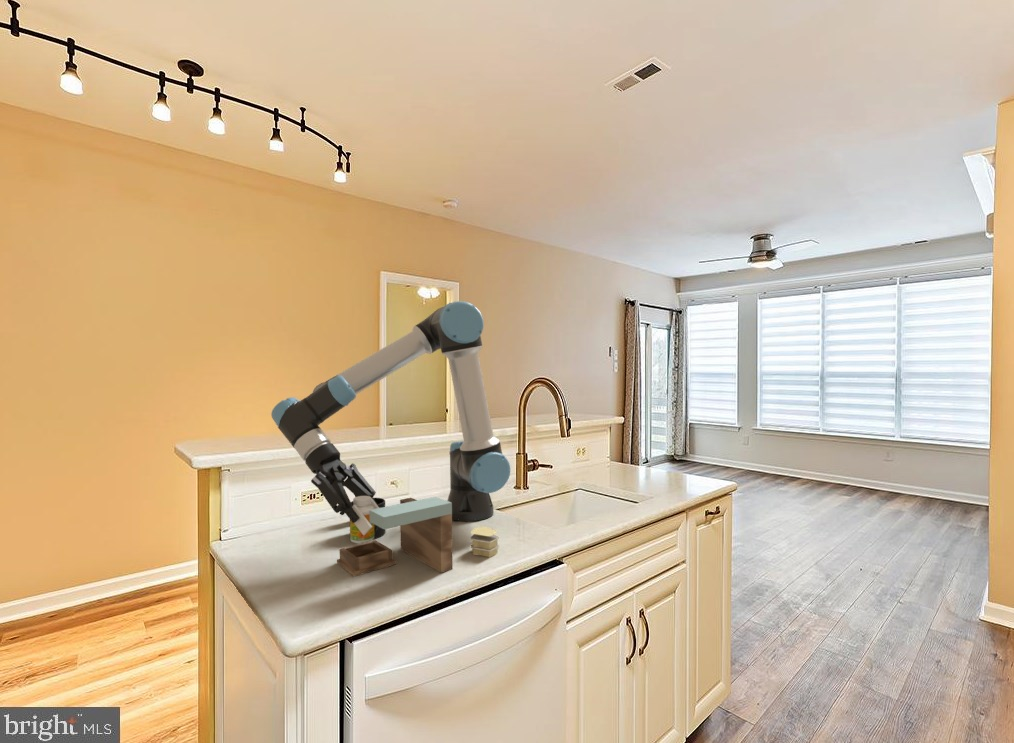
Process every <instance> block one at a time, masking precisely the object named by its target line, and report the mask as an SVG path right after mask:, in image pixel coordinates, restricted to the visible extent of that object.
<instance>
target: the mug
mask: <svg viewBox="0 0 1014 743" xmlns="http://www.w3.org/2000/svg"><path fill="white" fill-rule="evenodd" d="M373 499H374V501H375V502H376V503H377V505H378V506H379V507H380V508H382V507H386V499H384V498H381V497H373ZM350 502H351V504H352V506H353V505H354V504H353V500H352V501H350ZM352 506H351V507H352ZM386 530H387V529H382V528H380V527H379V526H377V525H375V524H374V539H375V540H376V539H378V538H380V537H383V536H385V534H386ZM374 539H373V540H374Z"/></svg>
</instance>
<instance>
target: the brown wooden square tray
mask: <svg viewBox="0 0 1014 743" xmlns="http://www.w3.org/2000/svg"><path fill="white" fill-rule="evenodd" d="M393 558H394V556H393V549H391V548H390V547H388V546H386V545H384V544H382V543H381V542H380V541H378V540H376V539H375V540H374V539H373V540H372V541H369V542H365V543H357V544H355V545H350V546H346V547H342V548H339V558H337V559H336V563H337V565H339V566H340V567H341V568H343V570H345V571H346V572H348V573H349V574H350V575H351V576H352V577H356V576H360V575H363V574H367V573H370V572H374V571H378V570H380V569H385V568H388V567H390V566H392V567H393V566H395V565H396V562H397V561H396V560H395V559H393Z"/></svg>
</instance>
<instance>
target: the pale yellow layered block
mask: <svg viewBox="0 0 1014 743" xmlns="http://www.w3.org/2000/svg"><path fill="white" fill-rule="evenodd" d="M470 533H471V534H472V536H470V540H471V541H472V544H470V548H471V549H472V555H474V556H482V557H486V558H492V557H493V556H494V555H497V554H498V553H499V552H498V551H499V550H498V548H500V545H499V544H498V540H499V539H500V537H499V536H497V535H496V534H498V533H499V531H497V529H496V530H495V529H493V528H490V527H489V526H476V527H475V528H473V529H472V530H471V531H470Z"/></svg>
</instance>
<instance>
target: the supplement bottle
mask: <svg viewBox="0 0 1014 743" xmlns="http://www.w3.org/2000/svg"><path fill="white" fill-rule="evenodd" d="M352 501H353V504H354V505H356V506H357V507H358V509H359V510H360V511H361V512H362V514H363V515H364V516H365V518H366V519H367V520H368V522H369V523H370V524H371V525H372V528H371V529H370V530H369V531H368V532H367V533H366V534H365V535H363V534H362V533H361V532H360V530H359V529H358V528H357V526H356V525H355V524H354V523H353V522H352V521H351V520H350V519H349V535H350V538H349V539H350V542H352V543H354V544H362V543H366V542H370V541H374V524H373V523H371V522H370V510H372V509H374V507H373V506H371V505H370V504H371V497H370V496H358V497H355V496H354V498H353V500H352Z"/></svg>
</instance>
